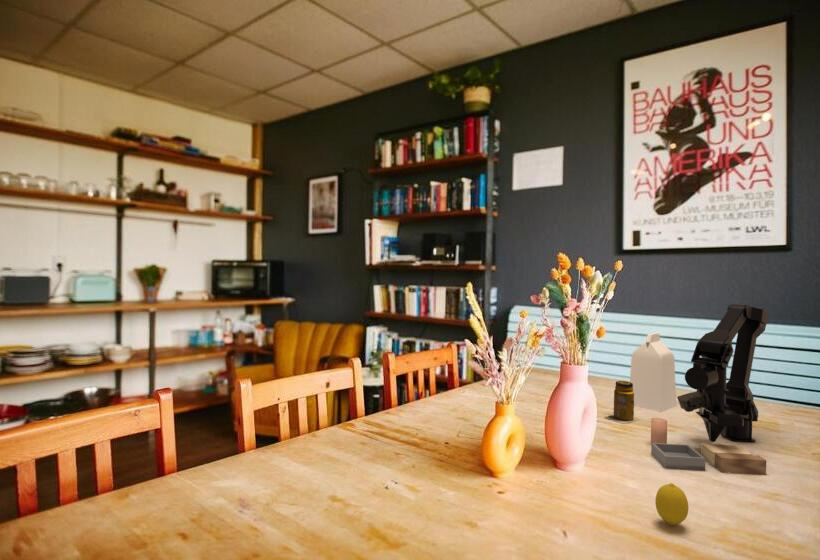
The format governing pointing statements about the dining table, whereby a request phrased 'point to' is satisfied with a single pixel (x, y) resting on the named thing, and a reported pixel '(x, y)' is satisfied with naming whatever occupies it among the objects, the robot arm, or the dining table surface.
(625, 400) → the condiment
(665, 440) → the dowel
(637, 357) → the milk
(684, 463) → the tray
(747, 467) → the block
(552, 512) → the dining table surface
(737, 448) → the light wood rectangular prism
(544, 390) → the dining table surface
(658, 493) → the lemon
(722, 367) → the robot arm
